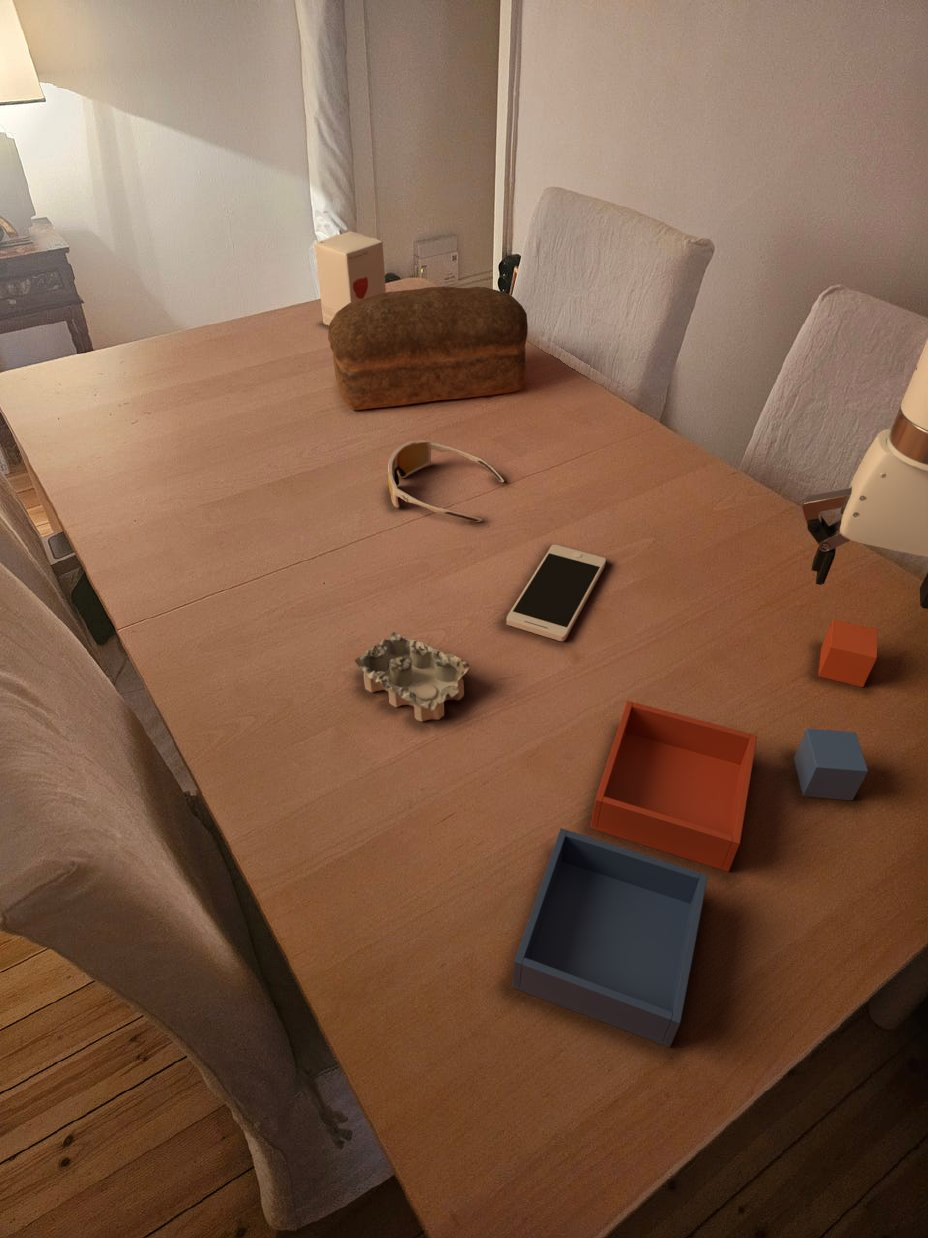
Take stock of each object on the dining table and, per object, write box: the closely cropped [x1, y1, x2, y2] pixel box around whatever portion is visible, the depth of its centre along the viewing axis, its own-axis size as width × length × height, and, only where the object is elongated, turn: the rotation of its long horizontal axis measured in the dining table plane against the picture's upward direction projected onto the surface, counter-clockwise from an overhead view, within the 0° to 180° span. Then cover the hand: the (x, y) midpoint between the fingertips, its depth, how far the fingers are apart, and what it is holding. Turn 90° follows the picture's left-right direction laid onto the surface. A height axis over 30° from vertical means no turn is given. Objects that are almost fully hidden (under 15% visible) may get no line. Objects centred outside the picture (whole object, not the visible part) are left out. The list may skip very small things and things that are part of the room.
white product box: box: [314, 230, 387, 327], centre depth 151 cm, size 9×9×15 cm
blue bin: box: [511, 827, 709, 1048], centre depth 64 cm, size 12×12×4 cm
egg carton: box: [354, 631, 470, 723], centre depth 85 cm, size 11×8×4 cm
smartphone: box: [505, 543, 607, 642], centre depth 97 cm, size 7×16×1 cm, turn 155°
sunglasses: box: [387, 439, 505, 523], centre depth 113 cm, size 14×15×5 cm
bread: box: [327, 286, 529, 411], centre depth 132 cm, size 15×32×16 cm, turn 103°
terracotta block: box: [817, 618, 879, 688], centre depth 87 cm, size 4×4×4 cm
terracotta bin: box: [590, 700, 758, 873], centre depth 75 cm, size 12×12×4 cm
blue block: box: [793, 728, 869, 801], centre depth 76 cm, size 4×4×4 cm
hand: (871, 587), depth 81 cm, fingers open, 9 cm apart
